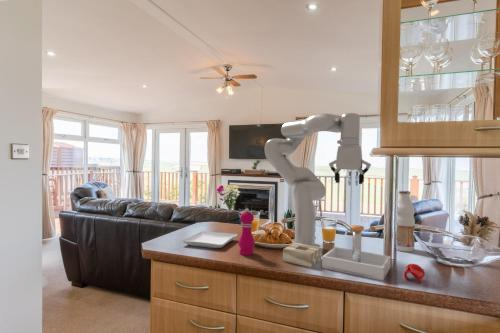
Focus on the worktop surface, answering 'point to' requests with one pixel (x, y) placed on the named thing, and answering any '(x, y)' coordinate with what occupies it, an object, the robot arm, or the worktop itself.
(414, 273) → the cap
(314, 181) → the robot arm
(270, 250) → the worktop surface
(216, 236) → the salad plate
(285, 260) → the pin block
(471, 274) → the worktop surface
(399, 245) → the fruit juice
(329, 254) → the tray
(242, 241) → the pepper mill
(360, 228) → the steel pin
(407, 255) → the worktop surface
